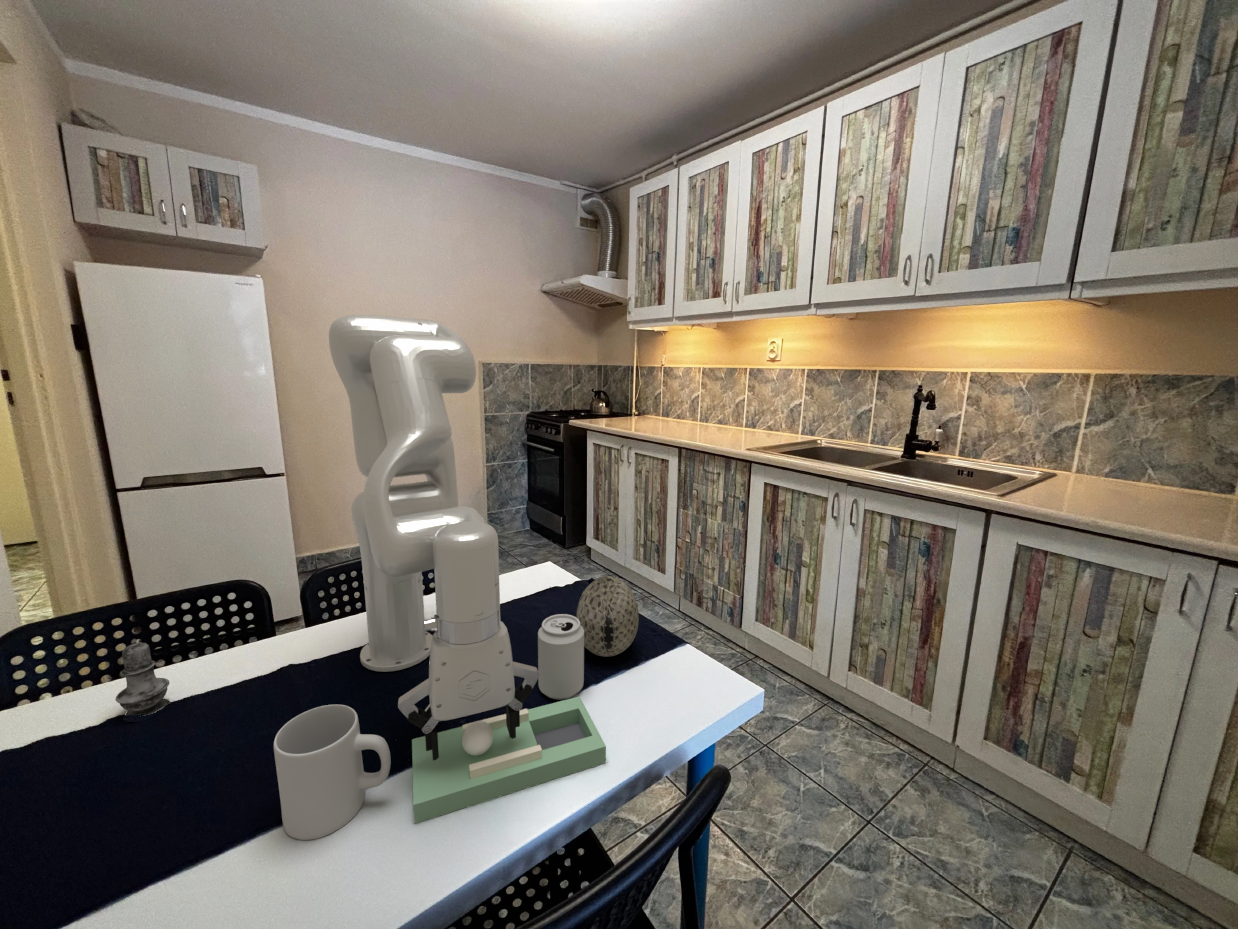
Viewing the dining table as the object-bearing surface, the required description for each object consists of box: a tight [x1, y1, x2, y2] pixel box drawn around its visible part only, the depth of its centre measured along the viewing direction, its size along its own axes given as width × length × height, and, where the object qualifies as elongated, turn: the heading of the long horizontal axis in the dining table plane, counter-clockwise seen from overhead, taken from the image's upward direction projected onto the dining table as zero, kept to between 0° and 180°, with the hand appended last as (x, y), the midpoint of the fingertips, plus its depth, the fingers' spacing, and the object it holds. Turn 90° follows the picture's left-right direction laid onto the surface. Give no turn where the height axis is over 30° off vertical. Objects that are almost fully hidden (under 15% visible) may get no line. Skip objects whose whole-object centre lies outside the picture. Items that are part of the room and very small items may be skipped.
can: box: [537, 613, 585, 701], centre depth 81 cm, size 8×8×12 cm
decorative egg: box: [575, 575, 640, 658], centre depth 91 cm, size 12×12×15 cm
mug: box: [273, 704, 392, 841], centre depth 58 cm, size 12×8×11 cm
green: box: [411, 696, 607, 825], centre depth 66 cm, size 11×24×4 cm, turn 113°
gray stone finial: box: [115, 638, 171, 717], centre depth 73 cm, size 6×6×12 cm
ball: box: [462, 720, 493, 756], centre depth 64 cm, size 4×4×4 cm
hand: (474, 741), depth 64 cm, fingers open, 9 cm apart
